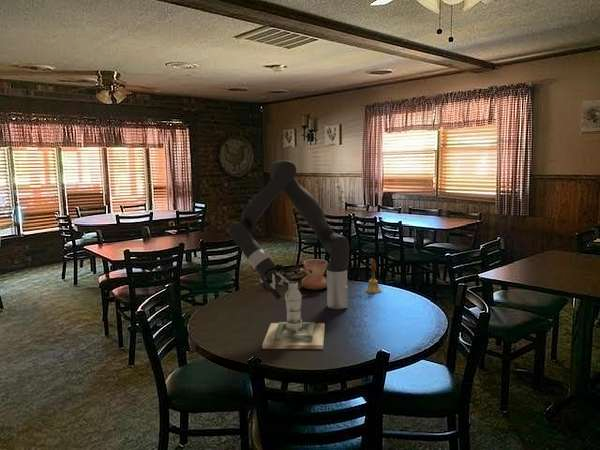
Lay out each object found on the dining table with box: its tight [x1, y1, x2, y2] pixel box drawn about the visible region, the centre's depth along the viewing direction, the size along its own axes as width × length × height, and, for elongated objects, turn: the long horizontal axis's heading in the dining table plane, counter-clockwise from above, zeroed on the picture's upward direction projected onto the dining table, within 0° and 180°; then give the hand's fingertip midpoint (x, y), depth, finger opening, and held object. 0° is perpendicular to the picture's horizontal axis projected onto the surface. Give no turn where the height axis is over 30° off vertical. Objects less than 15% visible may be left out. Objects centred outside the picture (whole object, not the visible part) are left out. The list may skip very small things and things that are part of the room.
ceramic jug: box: [299, 258, 328, 291], centre depth 247 cm, size 18×14×14 cm
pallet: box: [261, 321, 326, 350], centre depth 182 cm, size 22×22×4 cm
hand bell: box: [364, 259, 383, 294], centre depth 238 cm, size 8×8×16 cm
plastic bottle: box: [284, 281, 303, 333], centre depth 181 cm, size 6×7×20 cm
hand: (286, 295), depth 182 cm, fingers open, 8 cm apart
